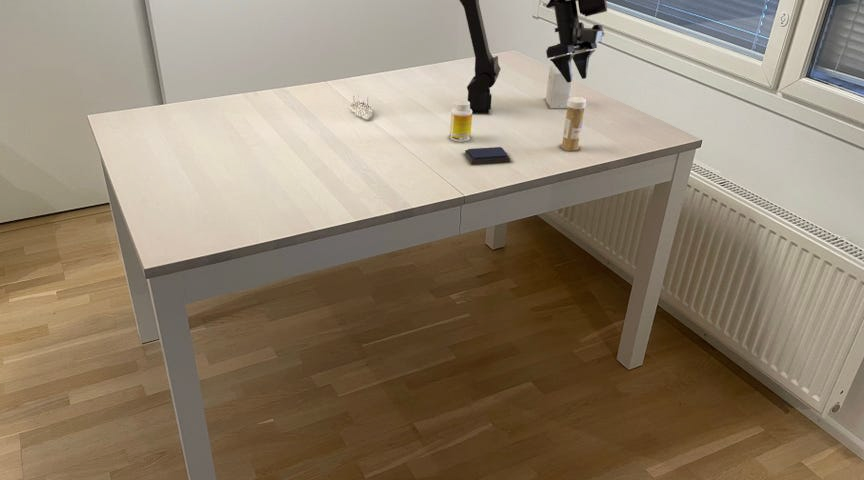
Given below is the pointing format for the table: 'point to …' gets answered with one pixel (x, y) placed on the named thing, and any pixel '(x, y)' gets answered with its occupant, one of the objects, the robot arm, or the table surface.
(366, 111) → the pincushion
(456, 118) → the supplement bottle
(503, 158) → the ink pad
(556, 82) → the small box
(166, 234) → the table surface
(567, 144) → the sprinkles bottle
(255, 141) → the table surface
